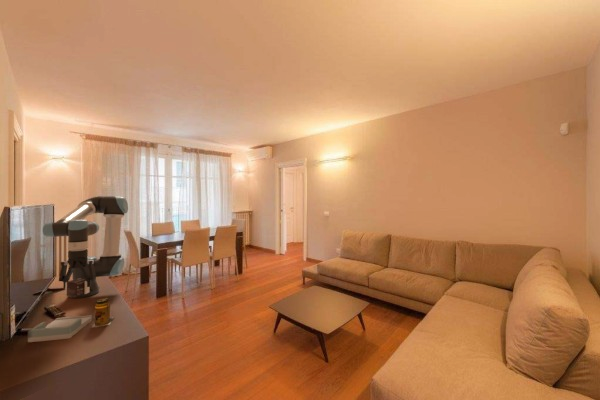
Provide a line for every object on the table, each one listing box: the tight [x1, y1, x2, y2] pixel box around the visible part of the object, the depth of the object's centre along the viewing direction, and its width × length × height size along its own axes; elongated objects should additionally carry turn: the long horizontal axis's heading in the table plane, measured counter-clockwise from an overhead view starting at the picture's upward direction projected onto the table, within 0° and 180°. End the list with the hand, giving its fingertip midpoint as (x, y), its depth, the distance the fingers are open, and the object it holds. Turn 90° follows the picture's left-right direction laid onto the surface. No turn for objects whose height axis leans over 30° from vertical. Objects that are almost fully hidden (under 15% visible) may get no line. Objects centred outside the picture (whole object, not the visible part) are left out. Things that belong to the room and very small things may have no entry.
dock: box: [27, 315, 94, 343], centre depth 117 cm, size 17×16×5 cm
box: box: [66, 278, 87, 297], centre depth 126 cm, size 6×6×7 cm
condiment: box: [91, 297, 115, 328], centre depth 124 cm, size 7×8×12 cm
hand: (77, 293), depth 126 cm, fingers closed on box, 8 cm apart
